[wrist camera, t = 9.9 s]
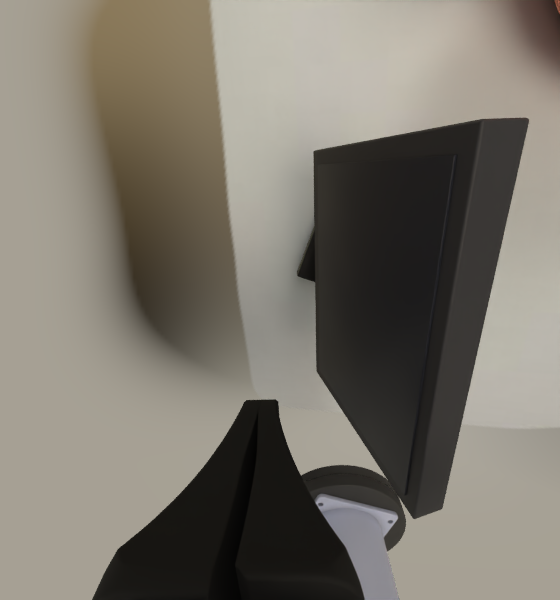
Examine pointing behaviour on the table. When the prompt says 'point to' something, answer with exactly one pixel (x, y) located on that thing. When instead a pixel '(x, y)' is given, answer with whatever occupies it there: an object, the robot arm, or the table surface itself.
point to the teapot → (558, 5)
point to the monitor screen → (410, 287)
